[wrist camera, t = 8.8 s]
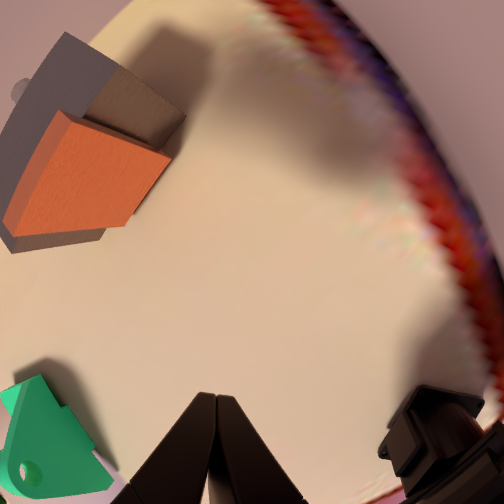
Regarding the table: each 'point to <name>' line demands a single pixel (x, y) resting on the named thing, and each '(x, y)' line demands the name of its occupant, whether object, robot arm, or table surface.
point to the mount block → (84, 106)
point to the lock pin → (81, 177)
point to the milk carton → (2, 500)
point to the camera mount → (46, 447)
